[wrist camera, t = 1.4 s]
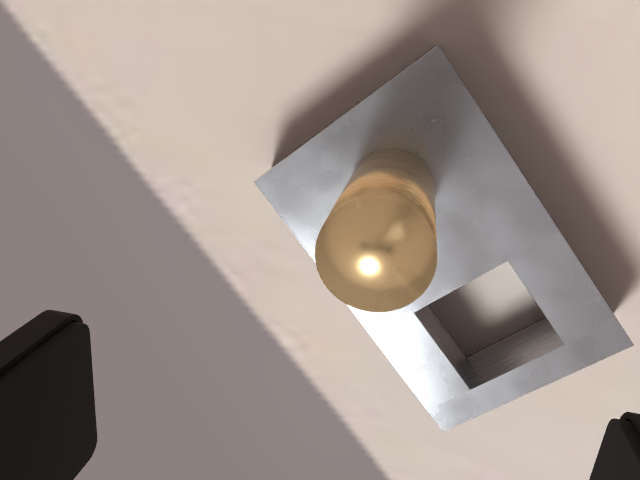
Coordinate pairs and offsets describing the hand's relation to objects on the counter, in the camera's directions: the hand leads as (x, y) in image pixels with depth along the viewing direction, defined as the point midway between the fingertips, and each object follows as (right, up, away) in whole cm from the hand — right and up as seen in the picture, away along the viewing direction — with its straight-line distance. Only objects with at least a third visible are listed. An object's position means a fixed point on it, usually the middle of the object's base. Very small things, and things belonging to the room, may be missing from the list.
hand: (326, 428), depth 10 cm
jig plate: (+6, +3, +18) cm, 19 cm away
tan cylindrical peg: (+3, +6, +15) cm, 16 cm away
